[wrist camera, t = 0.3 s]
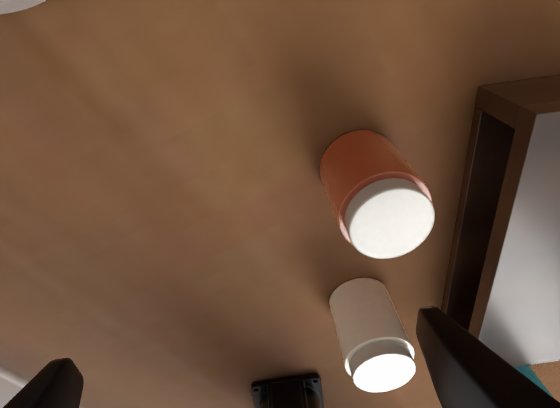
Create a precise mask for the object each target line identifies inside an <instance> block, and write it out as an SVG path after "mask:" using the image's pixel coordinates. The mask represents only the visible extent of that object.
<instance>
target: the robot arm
mask: <svg viewBox="0 0 560 408" xmlns="http://www.w3.org/2000/svg"><path fill="white" fill-rule="evenodd" d="M416 334H417V338H418V341H419V344H420V347H421V350H422V353H423V356H424V359H425V361H426V364H427V367H428V370H429V373H430V376H431V379H432V382H433V385H434V387H435V390H436V393H437V396H438V398H439V400H440V403H441V405H442V407H443V408H560V403H559V402H558V401H557V400H555V399H554V398H553V397H551V396H550V395H549V394H548V393H546V392H545V391H544V390H542V389H541V388H540V387H539V386H537V385H536V384H535V383H534V382H532V381H531V380H530V379H528V378H527V377H526V376H525V375H523V374H522V373H521V372H519V371H518V370H517V369H516V368H514V367H513V366H512V365H510V364H509V363H508V362H507V361H505V360H504V359H503V358H501V357H500V356H499V355H498V354H496V353H495V352H494V351H492V350H491V349H490V348H489V347H487V346H486V345H485V344H483V343H482V342H481V341H480V340H478V339H477V338H476V337H475V336H473V335H472V334H471V333H469V332H468V331H467V330H466V329H464V328H463V327H462V326H460V325H459V324H458V323H457V322H455V321H454V320H453V319H451V318H450V317H449V316H448V315H446V314H445V313H444V312H442V311H441V310H440V309H439V308H437V307H435V306H431V307H424V308H420V309H419V311H418V317H417V325H416ZM83 383H84V382H83V376H82V375H81V373H80V372H79V370H78V368H77V367H76V365H75V364H74V362H73V361H72V360H71V359H70V358H62V359H56V360H53V361H51V362H49V363H48V364H47V365H46V366H45V367H44V368H43V369H42V370H41V371H40V372H39V373H38V374H37V375H36V376H35V377H34V378H33V379H32V380H31V381H30V382H29V383H28V384H27V385H26V386H25V387H24V388H23V389H22V390H21V391H20V392H19V393H17V394H16V396H14V397H13V398H12V399H11V400H10V401H9V402H8V403H7V404H6V405H5V406H4V407H3V408H79V405H80V400H81V395H82V390H83ZM251 393H252V396H253V400H254V403H255V407H256V408H324V407H323V397H322V388H321V379H320V375H318V374H312V375H305V376H298V377H291V378H284V379H277V380H270V381H263V382H257V383H253V384H252V385H251Z"/></svg>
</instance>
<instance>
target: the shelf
mask: <svg viewBox="0 0 560 408" xmlns="http://www.w3.org/2000/svg"><path fill="white" fill-rule="evenodd" d="M441 311H442V312H444V313H445V314H446V315H448V316H449V317H450V318H451V319H453V320H454V321H455V322H457V323H458V324H459V325H460V326H462V327H463V328H464V329H466V330H467V331H468V332H469V333H471V334H472V335H473V336H475V337H476V338H477V339H478V340H480V341H481V342H482V343H483V344H485V345H486V346H487V347H489V348H490V349H491V350H492V351H494V352H495V353H496V354H498V355H499V356H500V357H501V358H503V359H504V360H505V361H507V362H508V363H509V364H510V365H512V366H513V367H519V366H525V365H532V364H539V363H546V362H553V361H560V75H553V76H546V77H539V78H532V79H525V80H519V81H512V82H505V83H498V84H491V85H484V86H479V87H478V93H477V100H476V107H475V112H474V118H473V124H472V130H471V136H470V142H469V148H468V154H467V160H466V166H465V172H464V178H463V184H462V190H461V196H460V202H459V208H458V214H457V220H456V226H455V232H454V238H453V244H452V250H451V256H450V262H449V268H448V274H447V280H446V286H445V292H444V298H443V304H442V310H441Z"/></svg>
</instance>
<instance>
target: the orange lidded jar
mask: <svg viewBox="0 0 560 408" xmlns="http://www.w3.org/2000/svg"><path fill="white" fill-rule="evenodd" d="M320 177H321V180H322V183H323V186H324V188H325V191H326V194H327V197H328V199H329V202H330V205H331V208H332V210H333V213H334V216H335V218H336V221H337V224H338V227H339V229H340V232H341V234H342V235H343V237H344V238H345V239H346V240H347V241H348V242H349V243H350V244H352V245H353V246H354V247H355V248H356V249H357V250H358V251H359V252H360V253H362V254H364V255H366V256H368V257H372V258H377V259H389V258H395V257H398V256H401V255H404V254H406V253H408V252H410V251H412V250H413V249H415V248H416V247H418V246H419V245H420V244H421V243H422V242H423V241H424V240H425V239H426V238H427V236H428V235H429V233H430V232H431V230H432V227H433V225H434V220H435V211H434V207H433V204H432V196H431V192H430V190H429V188H428V186H427V185H426V184H425V182H424V181H423V180H422V179H421V178H420V177H419V175H418V174H417V173H416V172H415V171H414V170H413V168H412V167H411V166H410V165H409V164H408V163H407V161H406V160H405V159H404V158H403V157H402V156H401V154H400V153H399V152H398V151H397V150H396V149H395V147H394V146H393V145H392V144H391V143H390V142H389V140H387V139H386V138H385V137H384V136H383V135H381V134H379V133H377V132H374V131H369V130H357V131H352V132H349V133H346V134H344V135H342V136H340V137H339V138H337V139H336V140H335V141H334V142H332V143H331V144H330V146H329V147H328V148H327V149H326V151H325V153H324V154H323V157H322V159H321V163H320Z"/></svg>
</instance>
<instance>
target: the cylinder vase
mask: <svg viewBox="0 0 560 408" xmlns="http://www.w3.org/2000/svg"><path fill="white" fill-rule="evenodd" d="M44 1H46V0H0V14H6V13H12V12H17V11H21V10H25V9H28V8H31V7H34V6H36V5H38V4H40V3H43V2H44Z"/></svg>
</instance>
